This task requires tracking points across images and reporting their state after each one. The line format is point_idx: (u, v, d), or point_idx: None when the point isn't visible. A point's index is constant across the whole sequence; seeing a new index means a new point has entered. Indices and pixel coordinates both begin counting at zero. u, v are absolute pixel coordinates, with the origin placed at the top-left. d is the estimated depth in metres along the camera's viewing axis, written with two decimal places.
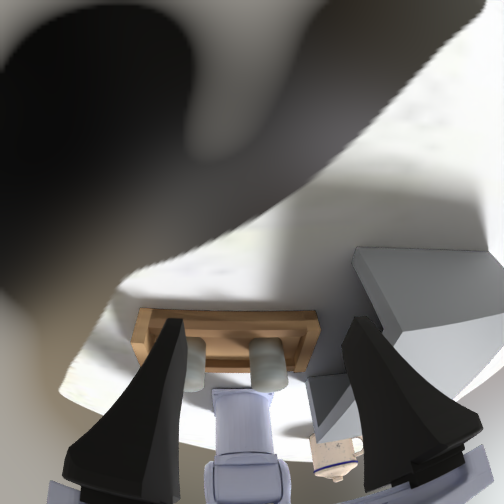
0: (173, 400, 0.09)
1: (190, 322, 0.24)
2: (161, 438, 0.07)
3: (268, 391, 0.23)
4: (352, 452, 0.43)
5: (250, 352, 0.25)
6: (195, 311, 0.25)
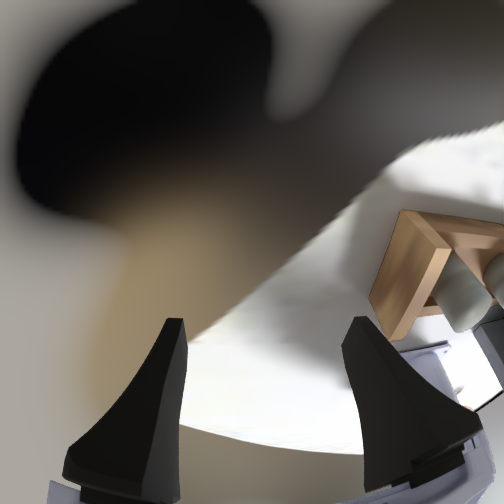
0: (173, 400, 0.09)
1: (466, 227, 0.14)
2: (161, 438, 0.07)
3: None
4: None
5: (496, 273, 0.16)
6: (458, 218, 0.15)
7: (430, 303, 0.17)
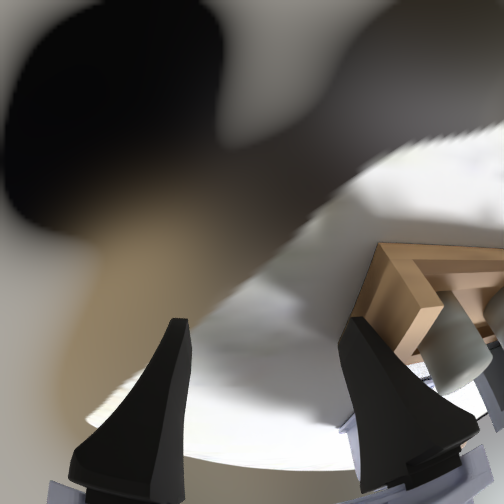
0: (178, 400, 0.09)
1: (467, 262, 0.11)
2: (167, 439, 0.07)
3: None
4: None
5: (500, 310, 0.12)
6: (458, 247, 0.12)
7: (415, 350, 0.14)
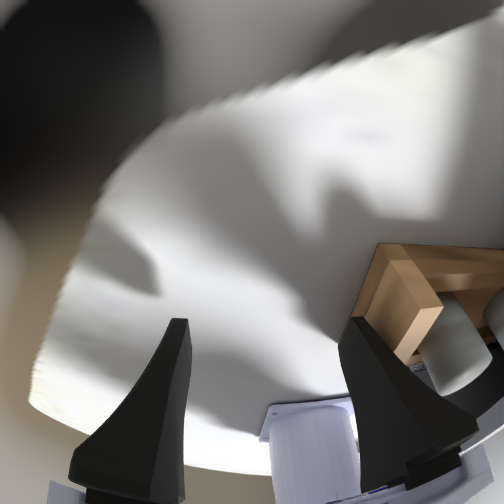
0: (178, 400, 0.09)
1: (467, 263, 0.11)
2: (167, 439, 0.07)
3: None
4: None
5: (499, 311, 0.12)
6: (458, 248, 0.12)
7: (415, 351, 0.14)
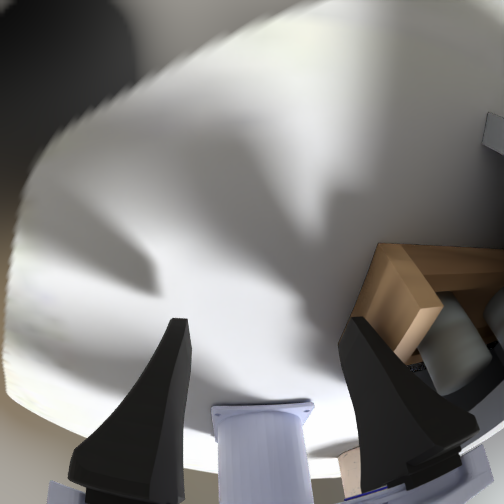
0: (178, 400, 0.09)
1: (467, 263, 0.11)
2: (167, 439, 0.07)
3: None
4: None
5: (500, 310, 0.12)
6: (457, 247, 0.12)
7: (415, 351, 0.14)
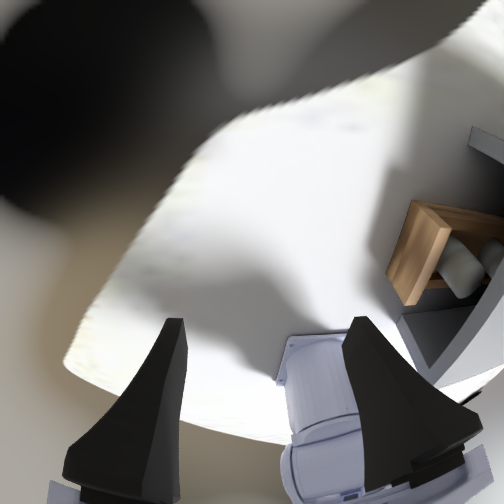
0: (173, 400, 0.09)
1: (462, 215, 0.18)
2: (161, 438, 0.07)
3: None
4: None
5: (488, 254, 0.20)
6: (456, 208, 0.19)
7: (435, 277, 0.21)
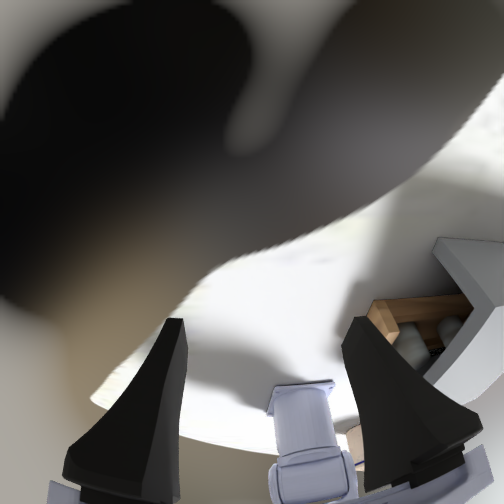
0: (173, 400, 0.09)
1: (419, 307, 0.24)
2: (161, 438, 0.07)
3: None
4: None
5: (444, 329, 0.25)
6: (416, 298, 0.25)
7: None
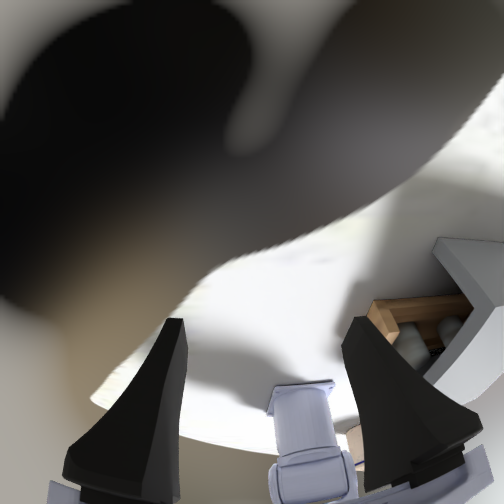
0: (173, 400, 0.09)
1: (419, 307, 0.24)
2: (161, 438, 0.07)
3: None
4: None
5: (444, 329, 0.25)
6: (416, 298, 0.25)
7: None
